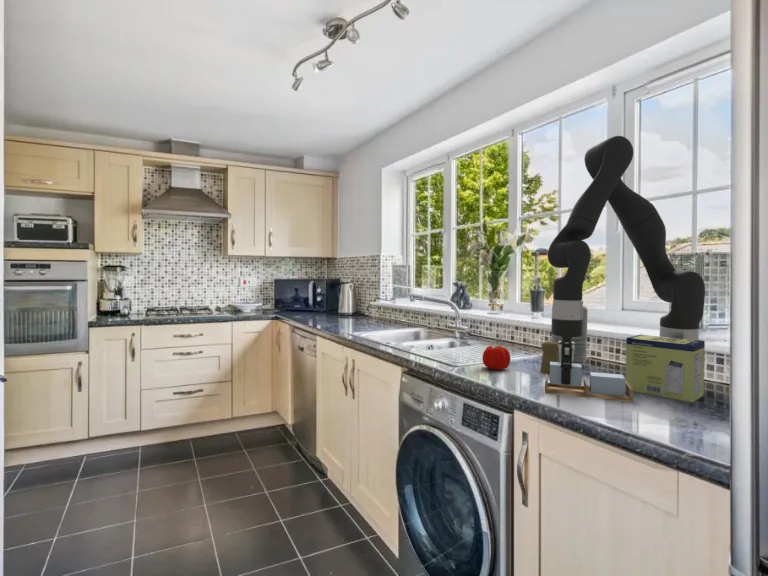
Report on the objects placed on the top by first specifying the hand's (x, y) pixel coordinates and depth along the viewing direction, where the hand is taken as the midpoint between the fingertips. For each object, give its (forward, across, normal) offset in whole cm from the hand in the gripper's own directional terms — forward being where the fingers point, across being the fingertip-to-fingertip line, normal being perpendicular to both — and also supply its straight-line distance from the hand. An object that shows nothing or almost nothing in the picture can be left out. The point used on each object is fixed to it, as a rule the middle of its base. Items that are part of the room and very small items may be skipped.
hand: (565, 381), depth 114 cm
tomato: (+4, +27, +21) cm, 34 cm away
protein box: (+4, +9, -24) cm, 26 cm away
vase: (+4, +44, -2) cm, 44 cm away
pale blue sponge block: (+2, 0, -10) cm, 10 cm away
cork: (+4, +22, +4) cm, 23 cm away
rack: (+4, 0, -5) cm, 6 cm away
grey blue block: (0, 0, 0) cm, 0 cm away
